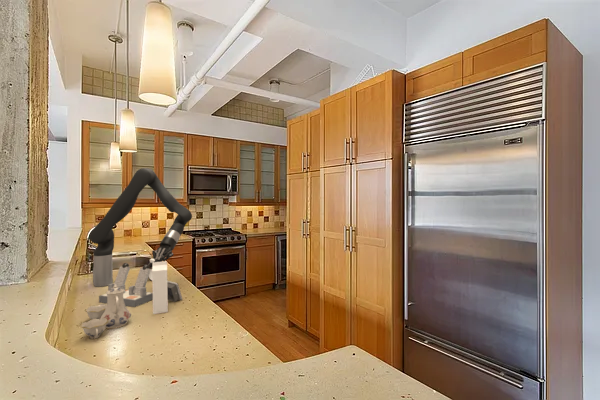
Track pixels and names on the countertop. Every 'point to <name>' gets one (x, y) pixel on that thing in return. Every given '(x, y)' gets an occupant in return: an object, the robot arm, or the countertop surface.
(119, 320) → the chinaware
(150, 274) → the spread jar
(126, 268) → the lever inner
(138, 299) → the switch panel
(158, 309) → the milk
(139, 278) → the lever outer
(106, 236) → the robot arm
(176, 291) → the electrical switch
